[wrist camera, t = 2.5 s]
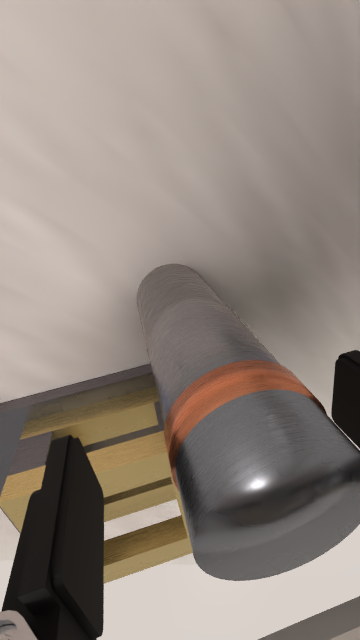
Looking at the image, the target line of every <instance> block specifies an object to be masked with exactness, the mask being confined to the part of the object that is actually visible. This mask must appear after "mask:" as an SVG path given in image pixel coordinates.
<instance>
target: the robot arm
mask: <svg viewBox="0 0 360 640" xmlns="http://www.w3.org/2000/svg"><path fill="white" fill-rule="evenodd" d="M332 418H333V420H334V422H335V423H336V425H337V426H338V427H339V428H340V429H341V430H342V431H343V432H344V433H345V434H346V435H347V436H348V437H349V438H350V439H351V440H352V441H353V442H354V443H355V444H356V445H357V446H358V447H359V448H360V351H358V350H354V351H351V352H347V353H344V354H341V355H340V356H339V358H338V360H337V361H336V363H335V376H334V388H333V401H332ZM103 584H104V495H103V490H102V488H101V485H100V483H99V481H98V479H97V477H96V474H95V472H94V470H93V468H92V465H91V463H90V461H89V459H88V457H87V454H86V452H85V450H84V448H83V445H82V443H81V441H80V439H79V438H78V437H77V438H73V436H72V435H67V436H64V437H61V438H57V439H54V440H52V441H51V444H50V449H49V453H48V458H47V463H46V467H45V472H44V477H43V481H42V486H41V489H39V490H36V491H34V492H33V493H32V494H31V496H30V499H29V502H28V506H27V510H26V514H25V518H24V522H23V526H22V530H21V534H20V538H19V542H18V546H17V550H16V554H15V559H14V563H13V567H12V571H11V575H10V579H9V583H8V587H7V591H6V595H5V599H4V603H3V607H2V611H1V612H0V640H96V638H97V637H100V636H101V635H102V632H103V589H104V588H103V587H104V585H103ZM259 640H360V596H359V597H357V598H354V599H352V600H350V601H347V602H345V603H343V604H340V605H338V606H336V607H333V608H331V609H329V610H326V611H324V612H321V613H319V614H317V615H314V616H312V617H310V618H307V619H305V620H303V621H300V622H298V623H295V624H293V625H291V626H289V627H286V628H284V629H281V630H279V631H277V632H275V633H272V634H270V635H268V636H265V637H263V638H261V639H259Z"/></svg>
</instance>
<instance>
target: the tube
mask: <svg viewBox="0 0 360 640" xmlns="http://www.w3.org/2000/svg"><path fill="white" fill-rule="evenodd" d="M137 304H138V309H139V314H140V318H141V323H142V327H143V332H144V336H145V341H146V345H147V350H148V354H149V359H150V363H151V367H152V372H153V376H154V381H155V385H156V390H157V394H158V399H159V403H160V408H161V412H162V417H163V421H164V426H165V427H164V440H165V445H166V450H167V455H168V459H169V464H170V469H171V473H172V478H173V481H174V484H175V486H176V487H177V489H178V490H179V493H180V497H181V502H182V506H183V511H184V515H185V519H186V524H187V528H188V533H189V537H190V542H191V546H192V551H193V555H194V558H195V561H196V563H197V564H198V566H199V567H200V568H201V569H202V570H203V571H205V572H206V573H207V574H209V575H211V576H213V577H216V578H220V579H225V580H233V581H244V580H254V579H261V578H265V577H270V576H274V575H278V574H280V573H283V572H286V571H289V570H292V569H294V568H297V567H299V566H301V565H303V564H305V563H308V562H310V561H312V560H313V559H315V558H317V557H319V556H320V555H322V554H324V553H325V552H327V551H328V550H330V549H331V548H333V547H334V546H336V545H337V544H338V543H340V542H341V541H342V540H343V539H345V538H346V537H347V536H348V535H349V534H350V533H351V532H352V531H353V530H354V529H355V528H356V527H357V526H358V525H359V524H360V451H359V449H358V448H357V447H356V446H355V445H354V444H353V443H352V442H351V441H350V440H349V439H348V438H347V436H346V435H345V434H344V433H343V432H342V431H341V430H340V429H339V428H338V427H337V426H336V424H335V423H334V422H333V421H332V420H331V419H330V418H329V417H328V416H327V414H326V411H325V409H324V407H323V406H322V404H321V403H320V402H319V400H318V399H317V398H316V397H315V396H314V395H313V394H312V393H311V392H310V391H309V390H308V389H307V388H306V387H305V386H304V385H303V383H302V382H301V381H300V380H299V379H298V378H297V377H296V376H295V375H294V374H293V373H292V372H291V371H290V370H288V369H287V368H285V367H283V366H281V365H280V363H279V362H278V361H277V360H276V359H275V358H274V357H273V356H272V355H271V354H270V353H269V351H268V350H267V349H266V348H265V347H264V346H263V345H262V344H261V343H260V342H259V341H258V339H257V338H256V337H255V336H254V335H253V334H252V333H251V332H250V331H249V330H248V329H247V327H246V326H245V325H244V324H243V323H242V322H241V321H240V320H239V319H238V318H237V317H236V316H235V314H234V313H233V312H232V311H231V310H230V309H229V308H228V307H227V306H226V305H225V304H224V302H223V301H222V300H221V299H220V298H219V297H218V296H217V295H216V294H215V293H214V292H213V290H212V289H211V288H210V287H209V286H208V285H207V284H206V283H205V282H204V281H203V280H202V278H201V277H200V276H199V275H198V274H197V273H196V272H195V271H193V270H192V269H190V268H189V267H186V266H183V265H178V264H169V265H164V266H161V267H158V268H156V269H155V270H153V271H152V272H150V273H149V274H148V275H147V276H146V277H145V278H144V280H143V281H142V283H141V285H140V287H139V289H138V293H137Z"/></svg>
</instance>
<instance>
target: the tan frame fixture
mask: <svg viewBox="0 0 360 640" xmlns="http://www.w3.org/2000/svg"><path fill="white" fill-rule="evenodd" d="M164 427H165V426H164V421H163V417H162V412H161V408H160V403H159V399H158V394H157V390H156V385H155V381H154V376H153V372H152V367H151V364H149V365H145V366H141V367H137V368H133V369H130V370H126V371H122V372H118V373H115V374H111V375H107V376H103V377H99V378H96V379H92V380H88V381H84V382H81V383H77V384H73V385H69V386H65V387H62V388H58V389H54V390H50V391H46V392H43V393H39V394H35V395H31V396H28V397H24V398H20V399H16V400H12V401H9V402H5V403H1V404H0V508H1V509H2V511H3V512H4V513H5V515H6V516H7V517H8V518H9V520H10V521H11V522H12V524H13V525H14V526H15V527H16V529H17V530H18V531H19V533H20V534H21V530H22V526H23V522H24V518H25V514H26V510H27V506H28V502H29V499H30V496H31V494H32V493H33V492H34V491H36V490H39V489H41V486H42V481H43V477H44V472H45V467H46V463H47V458H48V453H49V449H50V444H51V441H52V440H54V439H57V438H61V437H64V436H67V435H72V436H73V438H77V437H78V438H79V439H80V441H81V443H82V445H83V448H84V450H85V452H86V454H87V457H88V459H89V461H90V463H91V465H92V468H93V470H94V472H95V474H96V477H97V479H98V481H99V483H100V485H101V488H102V490H103V495H104V522H106V521H109V520H112V519H115V518H119V517H122V516H125V515H128V514H131V513H134V512H137V511H140V510H143V509H146V508H150V507H153V506H156V505H159V504H162V503H165V502H168V501H171V500H174V499H177V501H178V505H179V508H180V512H181V516H178V517H175V518H172V519H169V520H166V521H163V522H160V523H157V524H154V525H151V526H148V527H145V528H142V529H139V530H136V531H133V532H130V533H127V534H124V535H121V536H117V537H114V538H111V539H108V540H105V541H104V583H107V582H110V581H113V580H116V579H118V578H121V577H124V576H127V575H130V574H133V573H136V572H139V571H141V570H144V569H147V568H150V567H153V566H156V565H159V564H162V563H164V562H167V561H170V560H173V559H176V558H179V557H182V556H185V555H188V554H190V553H193V551H192V546H191V542H190V537H189V533H188V528H187V524H186V519H185V515H184V511H183V506H182V502H181V497H180V493H179V490H178V489H177V487H176V486H175V484H174V481H173V478H172V473H171V469H170V464H169V459H168V455H167V450H166V445H165V440H164Z"/></svg>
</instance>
